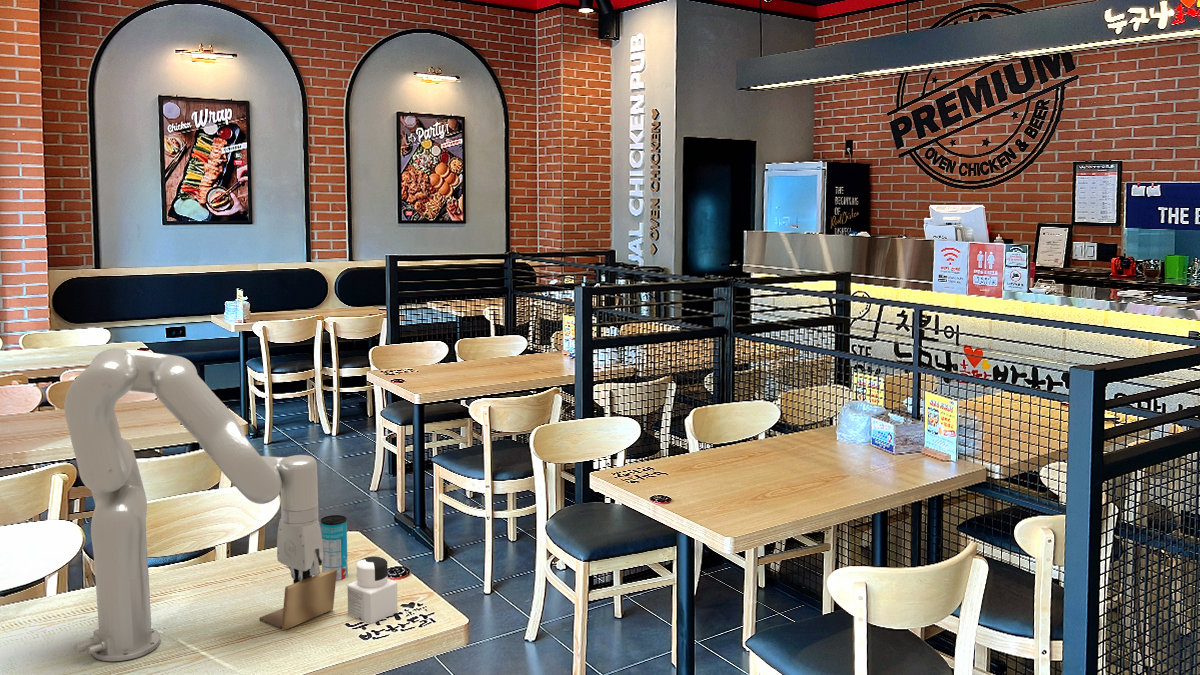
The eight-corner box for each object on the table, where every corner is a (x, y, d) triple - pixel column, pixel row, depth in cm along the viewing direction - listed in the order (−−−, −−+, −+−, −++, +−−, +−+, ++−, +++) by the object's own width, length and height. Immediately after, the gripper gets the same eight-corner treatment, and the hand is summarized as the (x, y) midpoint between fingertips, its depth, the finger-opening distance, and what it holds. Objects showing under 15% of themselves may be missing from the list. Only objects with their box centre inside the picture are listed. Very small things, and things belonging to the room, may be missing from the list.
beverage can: (352, 579, 231) (351, 519, 229) (331, 586, 226) (330, 525, 224) (338, 572, 235) (337, 513, 232) (317, 579, 230) (315, 519, 228)
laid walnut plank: (315, 648, 196) (315, 642, 196) (259, 623, 207) (259, 617, 206) (364, 626, 207) (363, 620, 206) (308, 603, 217) (307, 597, 217)
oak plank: (288, 589, 199) (285, 587, 200) (285, 630, 202) (281, 627, 202) (337, 570, 210) (333, 568, 210) (333, 609, 212) (329, 607, 212)
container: (374, 605, 217) (373, 550, 215) (398, 615, 212) (397, 558, 210) (347, 617, 211) (346, 561, 209) (371, 627, 206) (370, 569, 204)
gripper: (262, 511, 206) (265, 592, 209) (308, 526, 197) (311, 610, 200) (291, 502, 212) (294, 581, 215) (337, 516, 203) (339, 598, 206)
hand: (302, 595), depth 207 cm, fingers closed
